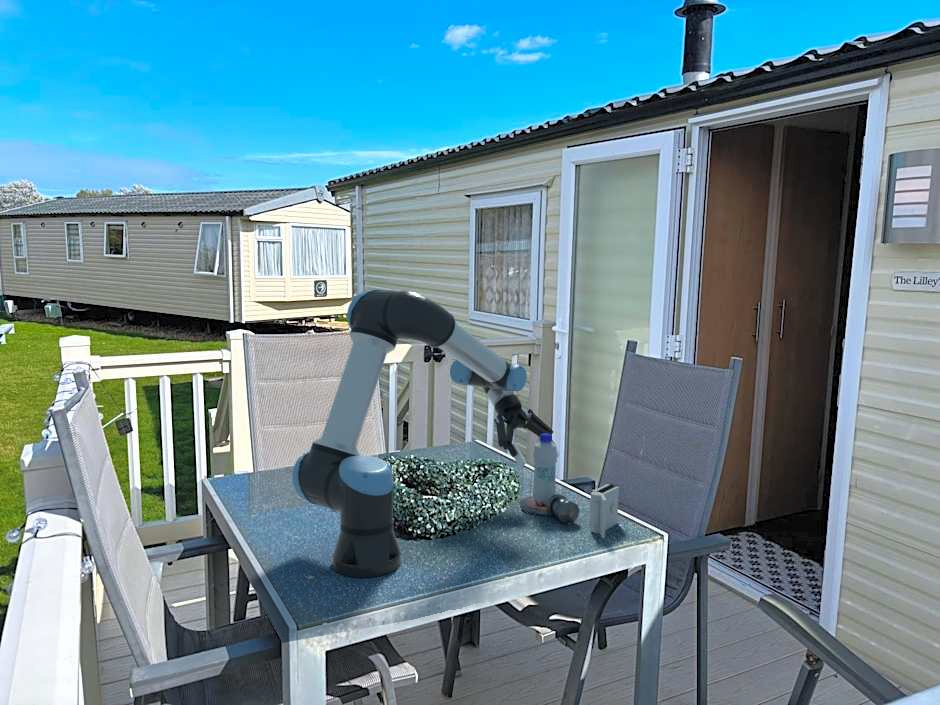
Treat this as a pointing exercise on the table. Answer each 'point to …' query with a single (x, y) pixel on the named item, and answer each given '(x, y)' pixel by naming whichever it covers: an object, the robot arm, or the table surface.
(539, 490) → the bottle
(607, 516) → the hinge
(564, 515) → the fitting
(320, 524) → the table surface
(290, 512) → the table surface
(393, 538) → the robot arm
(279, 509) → the table surface
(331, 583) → the table surface
